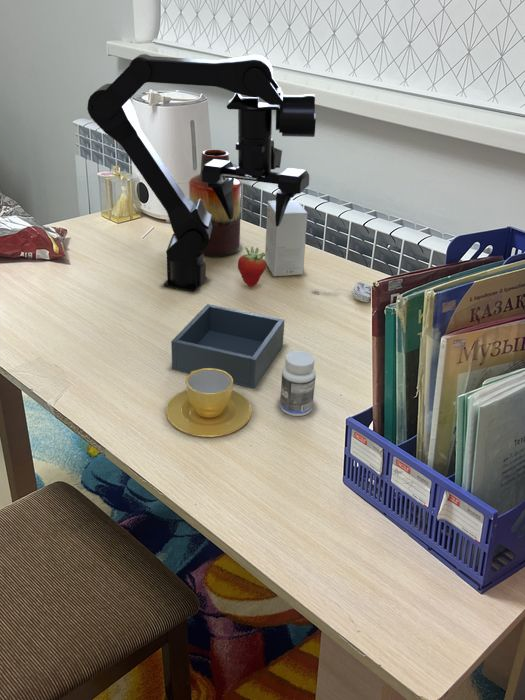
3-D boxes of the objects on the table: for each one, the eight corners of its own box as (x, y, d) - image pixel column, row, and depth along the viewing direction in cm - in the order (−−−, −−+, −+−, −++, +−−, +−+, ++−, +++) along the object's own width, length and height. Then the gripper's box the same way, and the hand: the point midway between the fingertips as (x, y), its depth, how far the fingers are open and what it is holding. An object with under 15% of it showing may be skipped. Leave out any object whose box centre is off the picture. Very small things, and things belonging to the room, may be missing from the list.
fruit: (266, 291, 132) (268, 252, 128) (238, 292, 131) (240, 253, 127) (262, 280, 136) (264, 242, 132) (235, 281, 135) (236, 242, 131)
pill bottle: (278, 398, 101) (281, 348, 97) (309, 397, 102) (314, 348, 97) (281, 417, 97) (284, 366, 93) (314, 416, 98) (319, 366, 93)
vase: (247, 243, 152) (250, 150, 142) (227, 260, 143) (228, 163, 133) (202, 234, 155) (202, 143, 145) (180, 251, 147) (178, 155, 136)
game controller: (381, 303, 129) (383, 291, 128) (322, 306, 127) (323, 294, 126) (372, 290, 134) (374, 277, 133) (314, 293, 132) (315, 280, 131)
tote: (171, 369, 107) (171, 341, 104) (207, 329, 118) (207, 303, 115) (254, 388, 103) (255, 360, 101) (282, 346, 114) (284, 319, 112)
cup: (267, 422, 96) (269, 390, 93) (190, 449, 90) (189, 415, 88) (225, 380, 105) (225, 350, 102) (152, 402, 99) (150, 370, 96)
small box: (303, 275, 139) (308, 212, 132) (272, 276, 138) (276, 214, 131) (293, 259, 146) (297, 199, 139) (264, 260, 144) (266, 200, 138)
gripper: (320, 130, 122) (315, 215, 130) (223, 120, 128) (224, 202, 136) (301, 145, 113) (297, 235, 121) (197, 134, 119) (200, 220, 127)
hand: (254, 222), depth 127 cm, fingers open, 9 cm apart
